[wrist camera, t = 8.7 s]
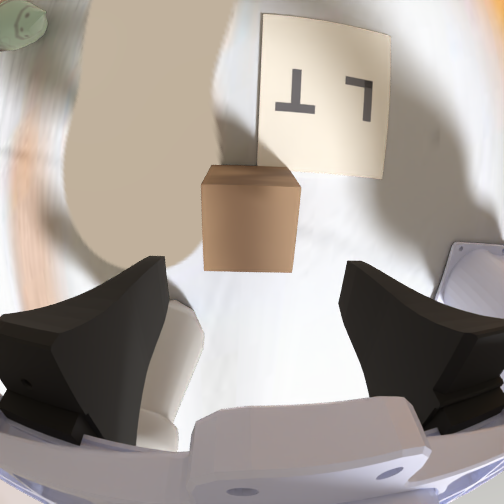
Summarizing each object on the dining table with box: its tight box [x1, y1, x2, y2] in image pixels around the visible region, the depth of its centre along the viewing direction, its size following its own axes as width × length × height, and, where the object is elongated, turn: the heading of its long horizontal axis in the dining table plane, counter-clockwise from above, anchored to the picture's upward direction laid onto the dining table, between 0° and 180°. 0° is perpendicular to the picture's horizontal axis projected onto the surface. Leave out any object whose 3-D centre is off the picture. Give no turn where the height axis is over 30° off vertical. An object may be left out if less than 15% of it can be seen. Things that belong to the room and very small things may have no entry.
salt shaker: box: [136, 299, 204, 452], centre depth 19 cm, size 6×6×13 cm
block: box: [201, 165, 301, 273], centre depth 18 cm, size 5×5×5 cm
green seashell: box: [0, 0, 48, 51], centre depth 10 cm, size 8×4×7 cm, turn 61°
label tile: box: [257, 14, 391, 179], centre depth 17 cm, size 9×11×1 cm
